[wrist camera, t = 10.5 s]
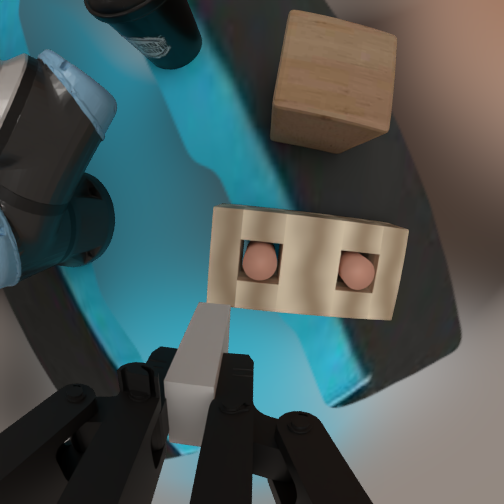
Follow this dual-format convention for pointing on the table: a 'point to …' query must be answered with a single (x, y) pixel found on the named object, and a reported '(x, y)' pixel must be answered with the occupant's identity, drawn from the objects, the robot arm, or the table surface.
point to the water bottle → (153, 28)
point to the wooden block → (332, 83)
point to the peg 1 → (260, 260)
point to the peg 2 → (355, 270)
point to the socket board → (304, 262)
